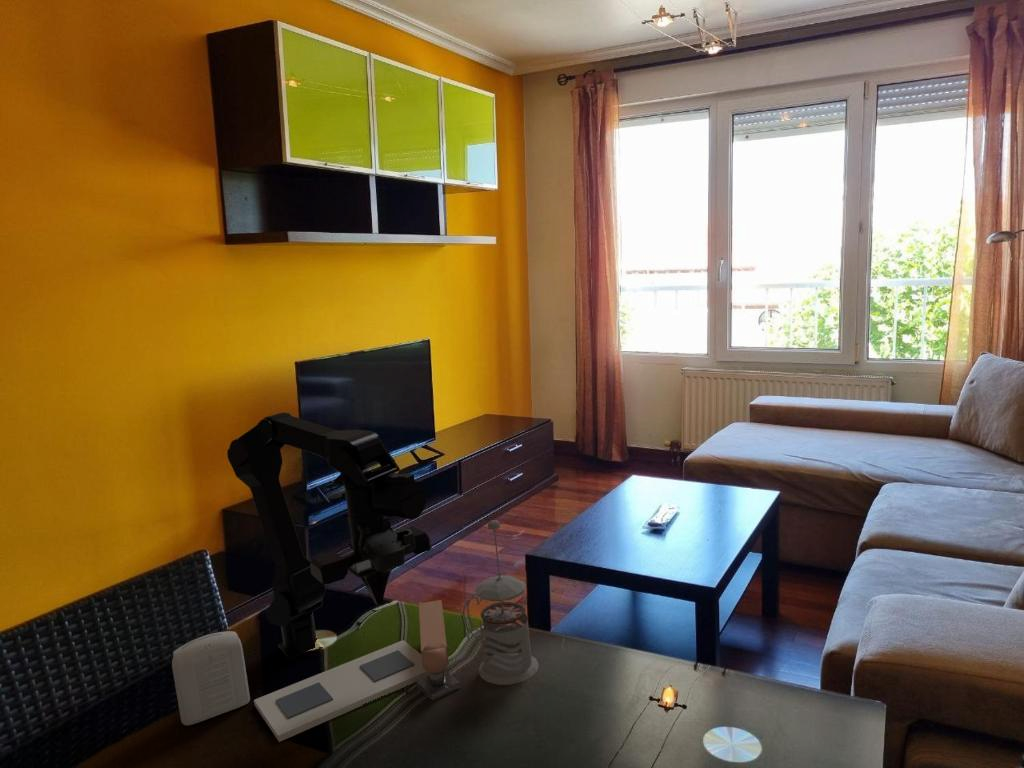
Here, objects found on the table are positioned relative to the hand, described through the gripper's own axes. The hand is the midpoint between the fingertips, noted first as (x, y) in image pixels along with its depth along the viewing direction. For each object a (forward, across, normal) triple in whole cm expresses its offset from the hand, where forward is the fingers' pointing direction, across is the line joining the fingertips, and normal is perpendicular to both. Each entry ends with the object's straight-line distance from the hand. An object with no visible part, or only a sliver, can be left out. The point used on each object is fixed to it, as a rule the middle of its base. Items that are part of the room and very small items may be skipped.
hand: (378, 603), depth 121 cm
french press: (+12, +15, -12) cm, 23 cm away
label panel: (+12, -7, 0) cm, 14 cm away
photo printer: (+12, -25, +9) cm, 29 cm away
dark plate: (+12, +4, -10) cm, 16 cm away
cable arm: (+9, +7, -3) cm, 12 cm away
